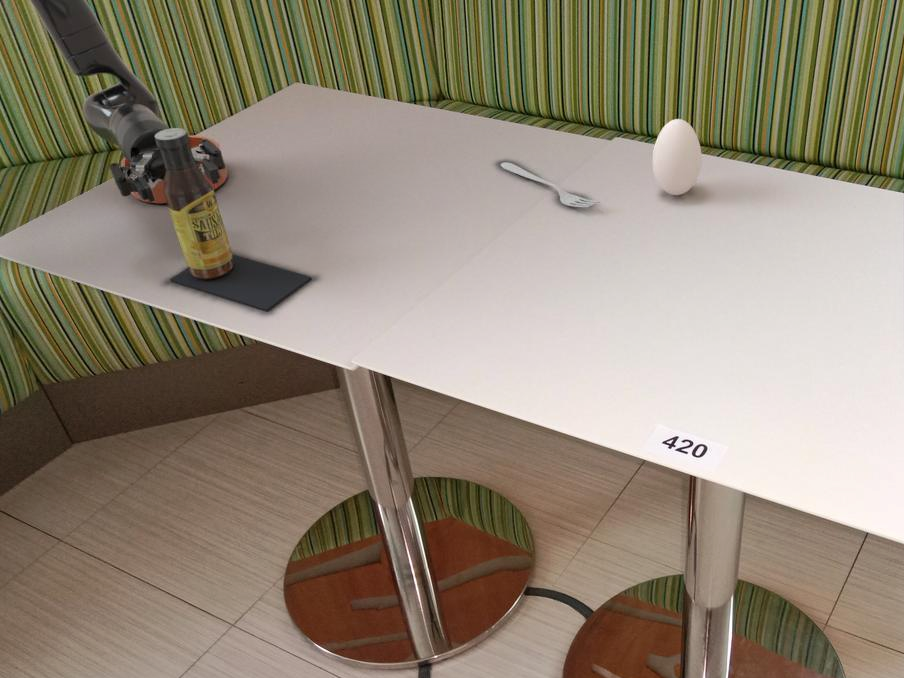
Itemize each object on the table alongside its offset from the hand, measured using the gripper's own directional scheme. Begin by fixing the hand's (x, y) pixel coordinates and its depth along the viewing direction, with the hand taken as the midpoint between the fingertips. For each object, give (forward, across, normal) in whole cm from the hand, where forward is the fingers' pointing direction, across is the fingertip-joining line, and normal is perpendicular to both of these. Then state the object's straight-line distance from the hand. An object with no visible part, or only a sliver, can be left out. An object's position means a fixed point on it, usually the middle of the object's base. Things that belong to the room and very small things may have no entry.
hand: (182, 185), depth 129 cm
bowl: (-31, +4, +13) cm, 34 cm away
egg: (+22, +66, +13) cm, 71 cm away
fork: (+8, +51, +13) cm, 54 cm away
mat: (+6, +2, +13) cm, 14 cm away
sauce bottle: (+1, 0, +13) cm, 13 cm away
